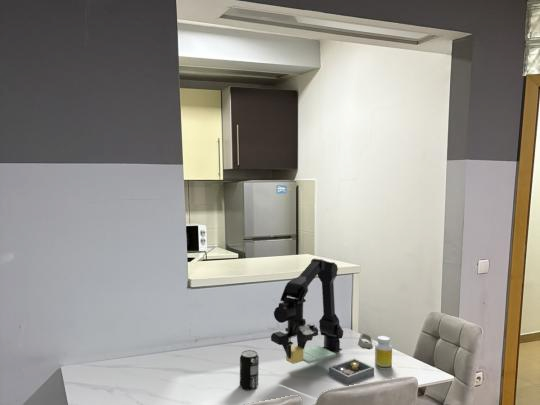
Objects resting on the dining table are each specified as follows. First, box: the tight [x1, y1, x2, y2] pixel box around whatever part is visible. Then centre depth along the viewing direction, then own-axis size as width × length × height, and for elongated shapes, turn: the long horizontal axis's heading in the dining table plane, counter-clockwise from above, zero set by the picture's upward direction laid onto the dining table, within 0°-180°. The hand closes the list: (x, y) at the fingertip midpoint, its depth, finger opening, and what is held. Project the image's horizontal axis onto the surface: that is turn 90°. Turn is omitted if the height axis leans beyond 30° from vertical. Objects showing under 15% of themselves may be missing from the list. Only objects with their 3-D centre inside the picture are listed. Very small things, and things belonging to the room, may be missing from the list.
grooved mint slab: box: [285, 345, 337, 365], centre depth 160 cm, size 10×19×4 cm, turn 126°
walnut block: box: [343, 370, 354, 375], centre depth 153 cm, size 3×3×2 cm
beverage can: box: [239, 349, 260, 391], centre depth 146 cm, size 7×7×12 cm
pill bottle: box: [374, 335, 393, 370], centre depth 164 cm, size 6×6×12 cm
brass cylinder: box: [351, 362, 359, 371], centre depth 161 cm, size 3×3×2 cm
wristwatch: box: [357, 332, 374, 349], centre depth 188 cm, size 9×6×5 cm
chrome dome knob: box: [338, 367, 346, 373], centre depth 157 cm, size 3×3×2 cm
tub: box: [328, 358, 375, 385], centre depth 157 cm, size 10×14×3 cm
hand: (294, 356), depth 156 cm, fingers closed on grooved mint slab, 5 cm apart
